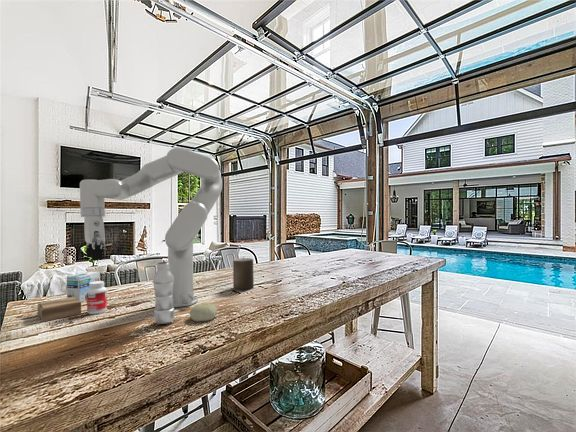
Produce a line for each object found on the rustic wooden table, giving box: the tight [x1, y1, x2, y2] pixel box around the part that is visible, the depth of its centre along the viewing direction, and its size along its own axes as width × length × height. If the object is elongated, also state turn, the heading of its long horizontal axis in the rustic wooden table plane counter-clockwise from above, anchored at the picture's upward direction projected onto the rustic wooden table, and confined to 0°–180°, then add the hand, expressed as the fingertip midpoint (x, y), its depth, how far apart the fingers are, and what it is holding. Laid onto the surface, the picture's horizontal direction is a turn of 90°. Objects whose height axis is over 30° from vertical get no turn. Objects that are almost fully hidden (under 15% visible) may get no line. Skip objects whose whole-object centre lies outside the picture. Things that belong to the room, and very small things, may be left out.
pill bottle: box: [86, 280, 108, 315], centre depth 108 cm, size 6×6×11 cm
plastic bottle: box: [152, 261, 176, 325], centre depth 96 cm, size 6×7×20 cm
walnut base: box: [36, 297, 82, 323], centre depth 106 cm, size 11×11×4 cm
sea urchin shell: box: [189, 302, 218, 323], centre depth 100 cm, size 9×8×8 cm
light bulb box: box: [66, 270, 101, 303], centre depth 125 cm, size 11×7×11 cm, turn 168°
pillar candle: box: [232, 257, 255, 291], centre depth 139 cm, size 10×10×15 cm
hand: (94, 258), depth 109 cm, fingers open, 9 cm apart
